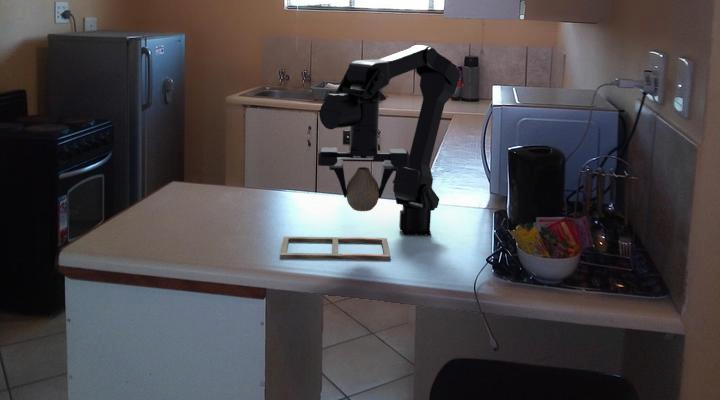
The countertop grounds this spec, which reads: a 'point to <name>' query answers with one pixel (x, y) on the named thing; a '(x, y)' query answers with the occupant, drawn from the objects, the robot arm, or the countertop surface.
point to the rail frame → (335, 248)
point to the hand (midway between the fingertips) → (362, 197)
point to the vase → (362, 190)
